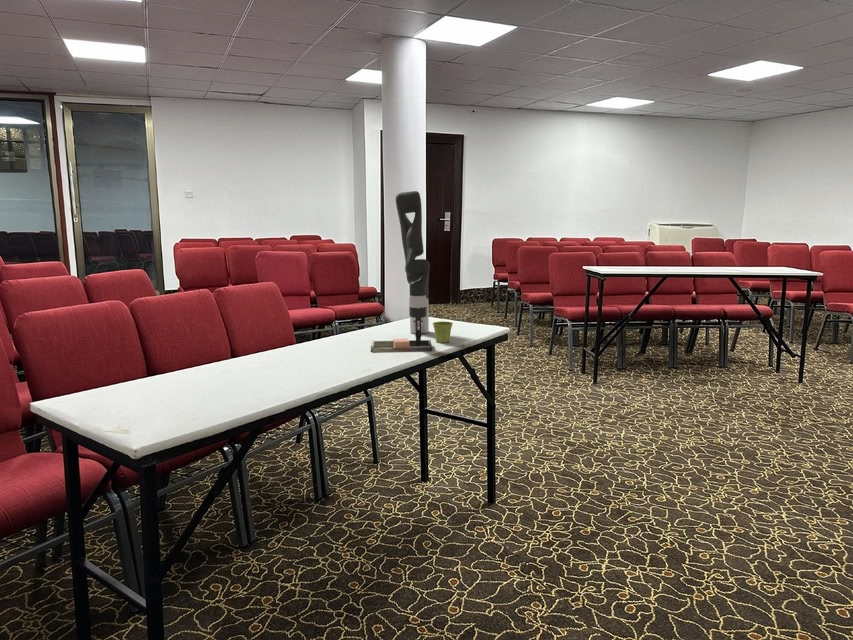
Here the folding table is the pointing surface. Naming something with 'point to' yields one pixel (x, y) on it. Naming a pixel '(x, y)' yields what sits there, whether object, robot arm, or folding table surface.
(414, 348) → the trap track
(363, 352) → the folding table surface
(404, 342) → the block
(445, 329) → the plant pot
